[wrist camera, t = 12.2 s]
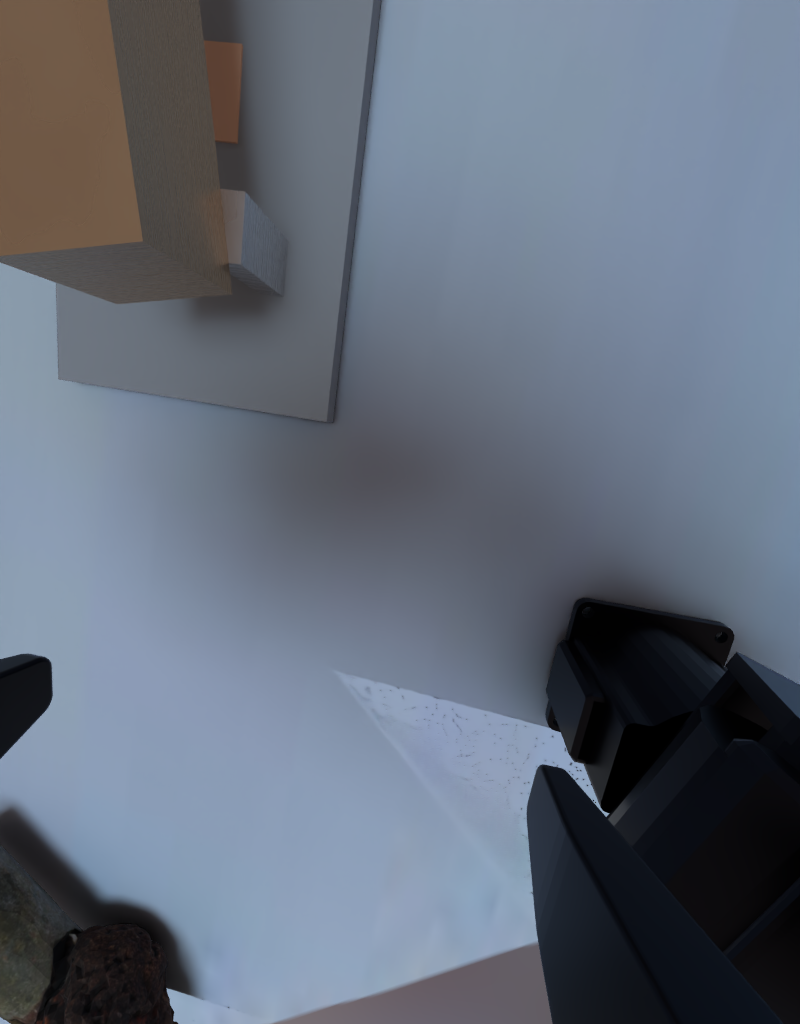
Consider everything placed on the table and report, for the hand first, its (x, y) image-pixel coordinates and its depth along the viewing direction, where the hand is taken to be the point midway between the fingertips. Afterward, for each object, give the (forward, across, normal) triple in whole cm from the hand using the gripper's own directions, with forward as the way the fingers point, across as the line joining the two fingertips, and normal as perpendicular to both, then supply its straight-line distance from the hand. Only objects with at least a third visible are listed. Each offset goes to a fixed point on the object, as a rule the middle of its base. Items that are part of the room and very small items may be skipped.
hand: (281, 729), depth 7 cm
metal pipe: (+15, +19, +24) cm, 33 cm away
